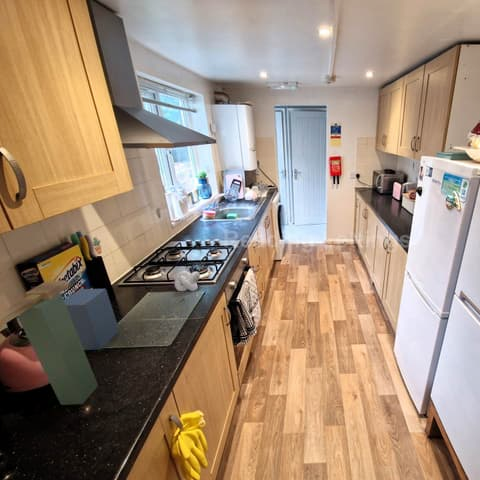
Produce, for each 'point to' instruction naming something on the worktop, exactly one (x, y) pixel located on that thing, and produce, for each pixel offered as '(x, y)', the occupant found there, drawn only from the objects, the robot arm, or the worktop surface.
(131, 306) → the worktop surface
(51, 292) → the tan slab
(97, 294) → the blue box
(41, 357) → the green block
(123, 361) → the worktop surface
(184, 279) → the white knot
